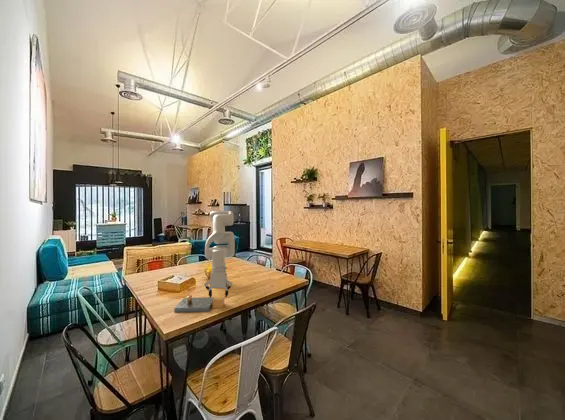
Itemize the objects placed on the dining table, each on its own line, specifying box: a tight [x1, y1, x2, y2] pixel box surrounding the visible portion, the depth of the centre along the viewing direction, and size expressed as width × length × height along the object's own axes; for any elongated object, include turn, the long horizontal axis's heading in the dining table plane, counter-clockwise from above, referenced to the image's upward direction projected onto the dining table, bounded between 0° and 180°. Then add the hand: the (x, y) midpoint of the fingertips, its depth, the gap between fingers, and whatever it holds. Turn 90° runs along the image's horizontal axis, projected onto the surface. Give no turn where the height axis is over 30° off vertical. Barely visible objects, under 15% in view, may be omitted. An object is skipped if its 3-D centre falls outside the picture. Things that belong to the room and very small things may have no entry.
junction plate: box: [173, 294, 215, 313], centre depth 149 cm, size 16×20×6 cm
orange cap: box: [212, 295, 225, 309], centre depth 150 cm, size 6×6×5 cm
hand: (218, 296), depth 149 cm, fingers open, 9 cm apart
